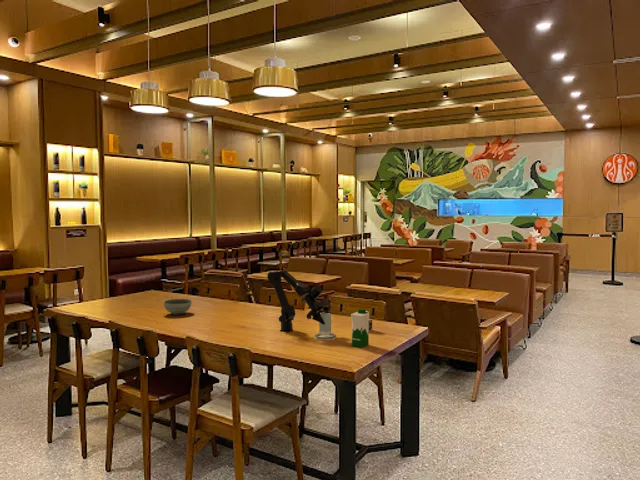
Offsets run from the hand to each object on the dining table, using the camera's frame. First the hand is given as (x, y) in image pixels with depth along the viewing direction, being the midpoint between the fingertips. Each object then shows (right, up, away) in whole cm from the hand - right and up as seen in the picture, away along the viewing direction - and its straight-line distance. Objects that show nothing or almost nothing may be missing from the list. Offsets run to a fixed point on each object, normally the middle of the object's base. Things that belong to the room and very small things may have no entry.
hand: (327, 323), depth 289 cm
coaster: (-1, -9, +1) cm, 9 cm away
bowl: (-110, -6, +74) cm, 133 cm away
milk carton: (+18, -10, -17) cm, 27 cm away
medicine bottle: (+24, -8, +18) cm, 31 cm away
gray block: (-1, -7, +1) cm, 7 cm away
